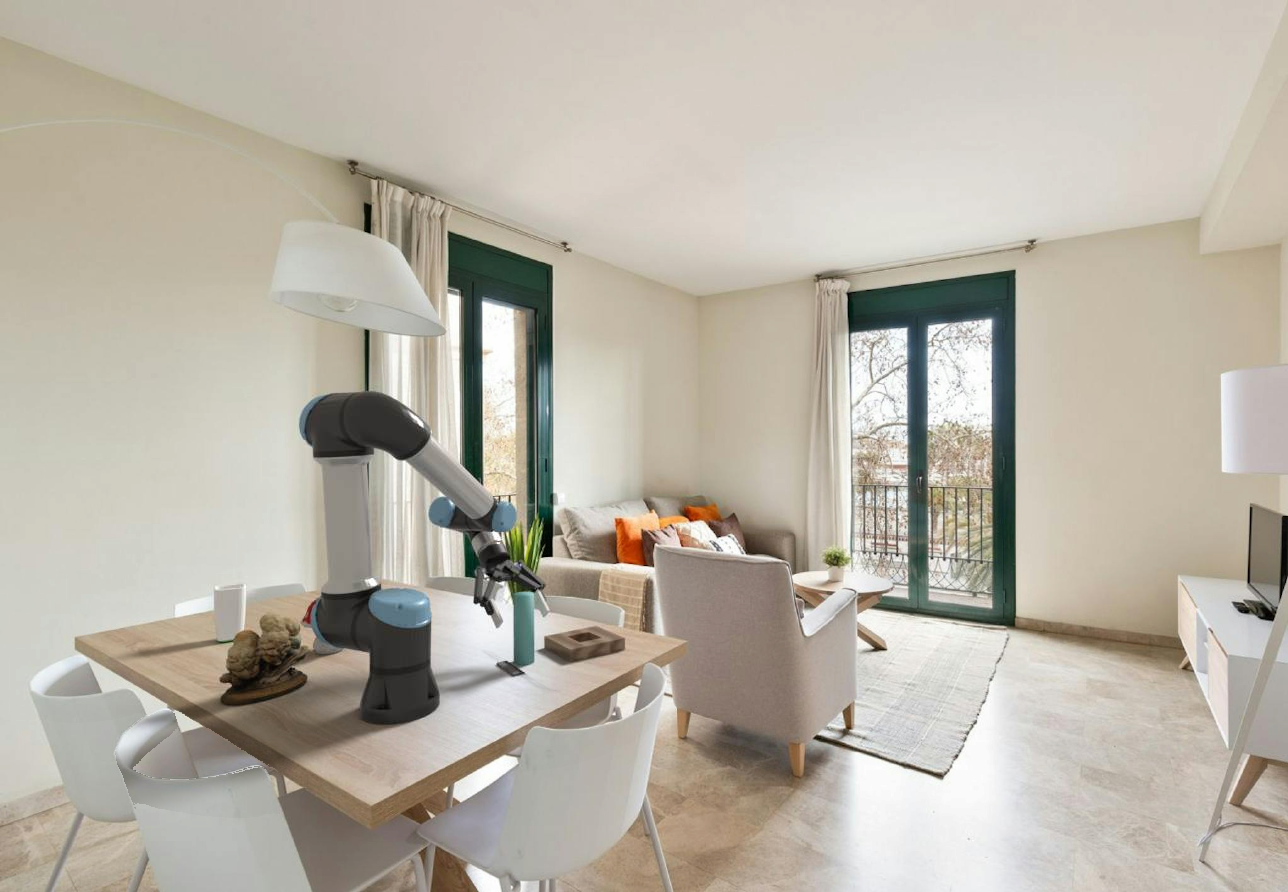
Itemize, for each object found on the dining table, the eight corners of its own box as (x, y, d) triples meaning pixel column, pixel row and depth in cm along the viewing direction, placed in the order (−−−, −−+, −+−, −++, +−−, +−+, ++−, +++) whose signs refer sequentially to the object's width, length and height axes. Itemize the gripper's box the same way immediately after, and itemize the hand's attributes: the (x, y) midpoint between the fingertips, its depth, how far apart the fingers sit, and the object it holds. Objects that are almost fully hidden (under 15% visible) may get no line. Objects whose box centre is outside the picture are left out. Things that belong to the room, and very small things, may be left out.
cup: (243, 634, 177) (244, 582, 177) (246, 640, 171) (246, 587, 172) (213, 639, 173) (213, 586, 173) (214, 645, 167) (214, 590, 167)
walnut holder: (570, 666, 149) (570, 649, 149) (544, 651, 160) (544, 636, 160) (625, 653, 158) (624, 637, 158) (596, 640, 170) (596, 625, 170)
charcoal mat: (513, 676, 142) (513, 674, 142) (496, 664, 150) (496, 662, 150) (552, 667, 148) (552, 665, 148) (533, 656, 156) (533, 654, 156)
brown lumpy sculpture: (293, 673, 145) (293, 601, 146) (323, 682, 139) (323, 606, 140) (208, 699, 130) (208, 618, 130) (238, 711, 124) (238, 626, 124)
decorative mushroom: (369, 648, 164) (369, 592, 164) (317, 663, 152) (317, 602, 152) (341, 639, 172) (341, 586, 172) (289, 653, 160) (289, 595, 160)
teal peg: (518, 668, 146) (518, 597, 146) (510, 663, 150) (510, 593, 150) (537, 664, 149) (537, 594, 149) (528, 659, 153) (528, 590, 153)
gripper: (525, 554, 172) (558, 617, 161) (441, 566, 154) (472, 638, 143) (536, 537, 168) (570, 601, 157) (452, 547, 150) (484, 620, 139)
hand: (524, 619), depth 150 cm, fingers open, 13 cm apart
